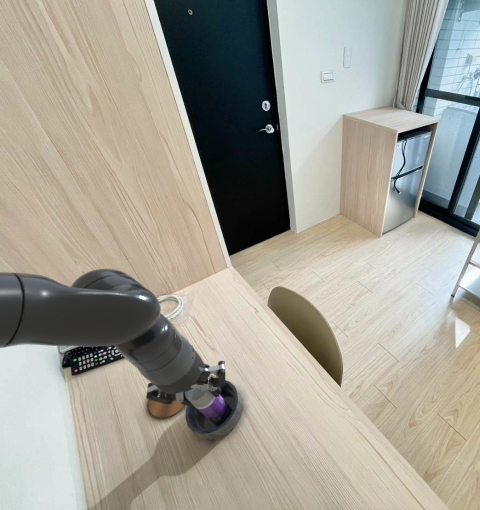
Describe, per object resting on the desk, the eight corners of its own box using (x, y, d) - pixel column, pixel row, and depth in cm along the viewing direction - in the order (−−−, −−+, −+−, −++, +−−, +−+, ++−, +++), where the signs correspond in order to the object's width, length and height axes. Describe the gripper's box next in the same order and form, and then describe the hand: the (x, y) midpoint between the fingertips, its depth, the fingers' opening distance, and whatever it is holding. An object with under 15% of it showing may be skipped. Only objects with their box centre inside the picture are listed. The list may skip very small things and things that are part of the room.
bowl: (193, 448, 59) (184, 442, 56) (194, 397, 67) (186, 388, 63) (245, 428, 62) (240, 421, 58) (241, 381, 70) (235, 372, 66)
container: (233, 408, 65) (214, 384, 55) (217, 427, 62) (194, 406, 52) (219, 397, 67) (198, 372, 56) (204, 415, 64) (178, 392, 53)
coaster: (146, 424, 63) (145, 424, 62) (152, 382, 69) (151, 382, 69) (192, 408, 65) (192, 408, 65) (193, 369, 72) (193, 368, 72)
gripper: (117, 399, 41) (166, 429, 53) (216, 368, 45) (241, 402, 57) (126, 355, 46) (169, 391, 58) (214, 330, 50) (237, 368, 62)
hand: (204, 396), depth 57 cm, fingers closed on container, 4 cm apart
